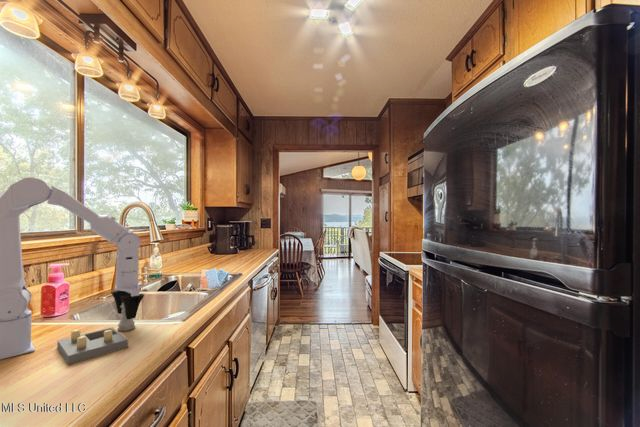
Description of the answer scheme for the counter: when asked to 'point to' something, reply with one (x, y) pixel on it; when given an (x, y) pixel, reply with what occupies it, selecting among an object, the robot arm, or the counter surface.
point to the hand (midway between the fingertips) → (126, 315)
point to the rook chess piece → (125, 321)
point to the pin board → (90, 344)
